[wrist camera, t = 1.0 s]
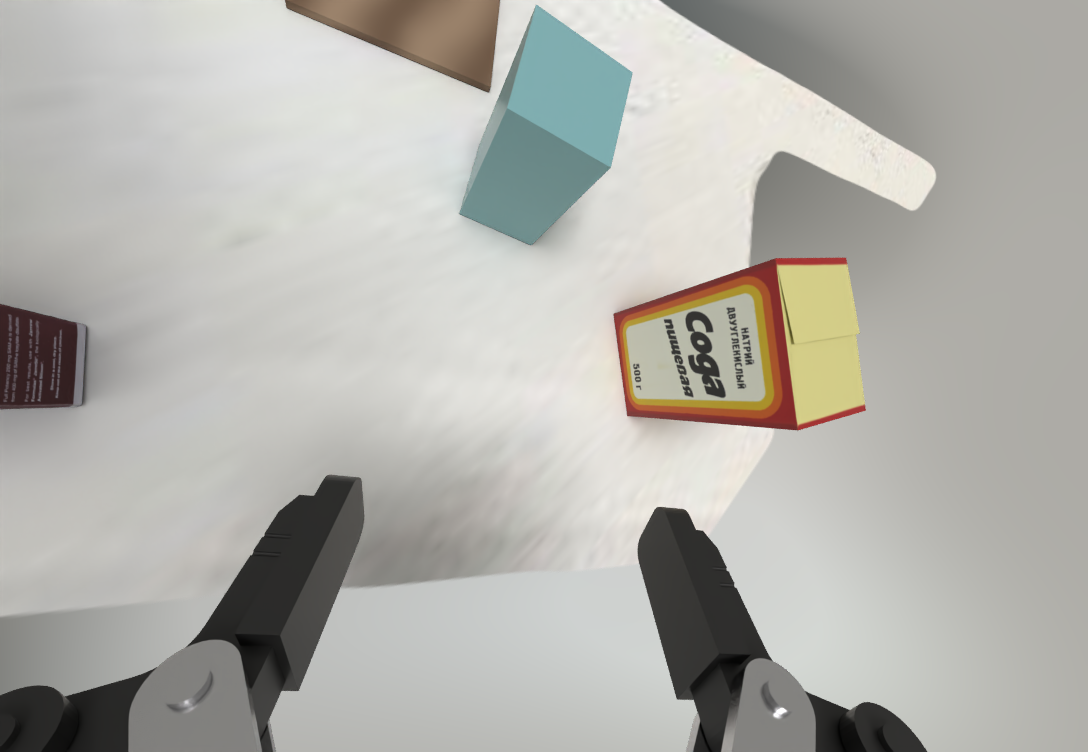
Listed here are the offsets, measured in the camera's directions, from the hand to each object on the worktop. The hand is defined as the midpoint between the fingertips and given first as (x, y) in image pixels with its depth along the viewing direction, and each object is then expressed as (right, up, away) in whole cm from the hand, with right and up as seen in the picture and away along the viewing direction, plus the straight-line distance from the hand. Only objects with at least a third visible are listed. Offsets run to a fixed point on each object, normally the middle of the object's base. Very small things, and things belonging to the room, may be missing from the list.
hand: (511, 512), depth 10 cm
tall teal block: (-2, +19, +21) cm, 28 cm away
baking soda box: (+11, +5, +26) cm, 29 cm away
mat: (-10, +33, +18) cm, 39 cm away
